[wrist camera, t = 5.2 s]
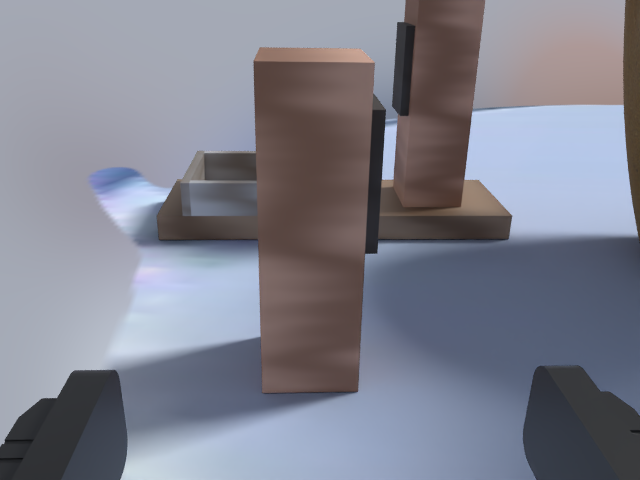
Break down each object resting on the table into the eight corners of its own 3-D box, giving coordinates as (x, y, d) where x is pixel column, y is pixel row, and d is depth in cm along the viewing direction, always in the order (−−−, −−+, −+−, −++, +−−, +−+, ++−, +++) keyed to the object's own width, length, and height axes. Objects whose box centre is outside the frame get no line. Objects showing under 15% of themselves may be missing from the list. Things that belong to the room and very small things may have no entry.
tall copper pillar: (359, 334, 26) (374, 48, 22) (371, 391, 23) (391, 62, 18) (266, 335, 26) (259, 47, 21) (262, 392, 22) (253, 61, 18)
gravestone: (475, 200, 43) (501, -4, 38) (508, 238, 36) (545, -1, 31) (179, 199, 42) (162, -10, 37) (159, 239, 35) (135, -8, 30)
